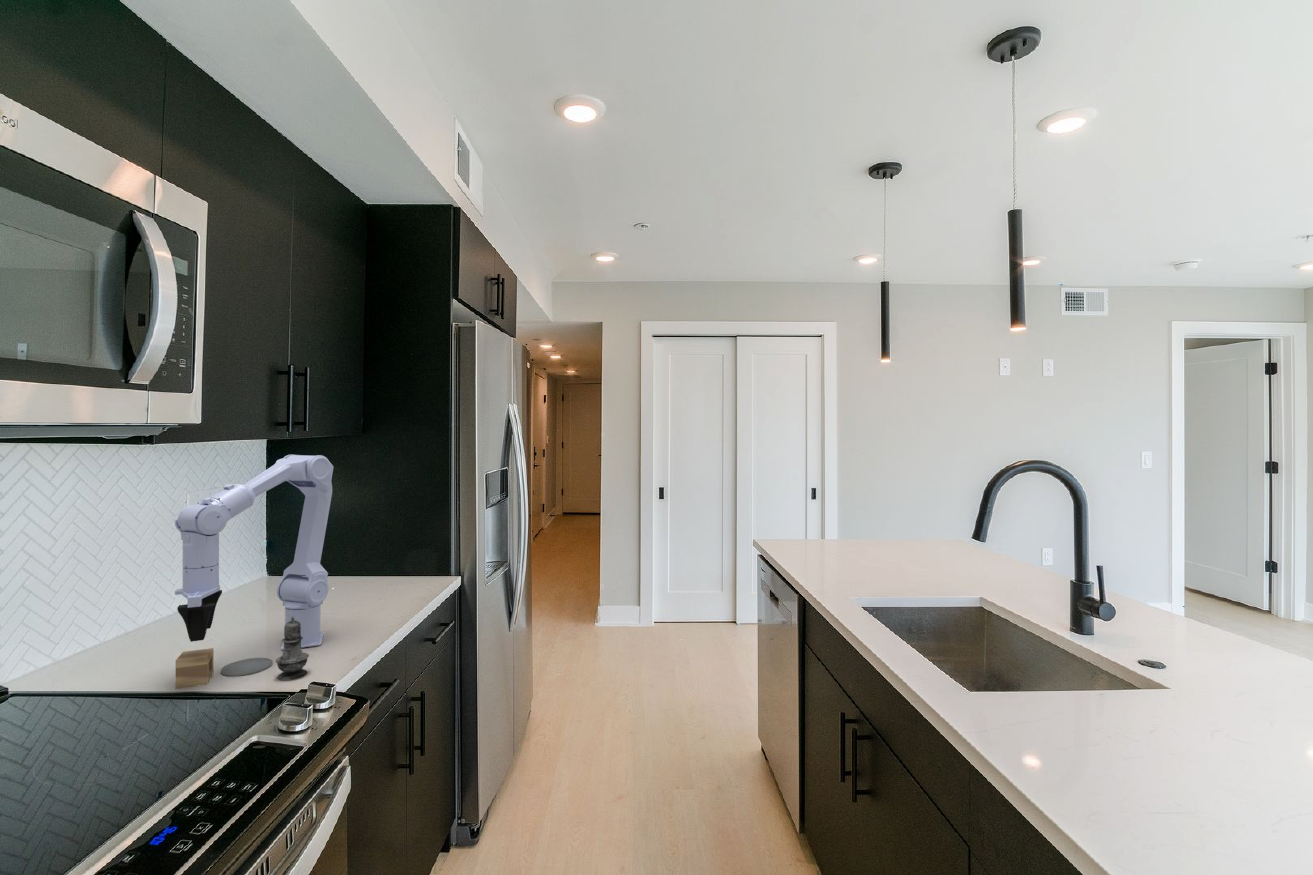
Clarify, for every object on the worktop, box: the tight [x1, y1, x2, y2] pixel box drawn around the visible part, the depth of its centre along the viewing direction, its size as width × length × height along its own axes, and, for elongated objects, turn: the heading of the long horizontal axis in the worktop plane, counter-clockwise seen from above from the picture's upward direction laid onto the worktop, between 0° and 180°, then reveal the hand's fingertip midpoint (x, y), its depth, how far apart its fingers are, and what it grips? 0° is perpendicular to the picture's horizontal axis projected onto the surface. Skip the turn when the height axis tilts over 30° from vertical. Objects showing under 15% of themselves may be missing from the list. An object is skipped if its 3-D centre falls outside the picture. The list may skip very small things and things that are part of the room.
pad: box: [220, 657, 274, 677], centre depth 125 cm, size 9×9×1 cm
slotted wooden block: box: [175, 647, 215, 690], centre depth 118 cm, size 5×5×6 cm
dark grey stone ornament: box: [275, 617, 310, 681], centre depth 122 cm, size 6×6×12 cm
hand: (200, 634), depth 118 cm, fingers open, 7 cm apart
